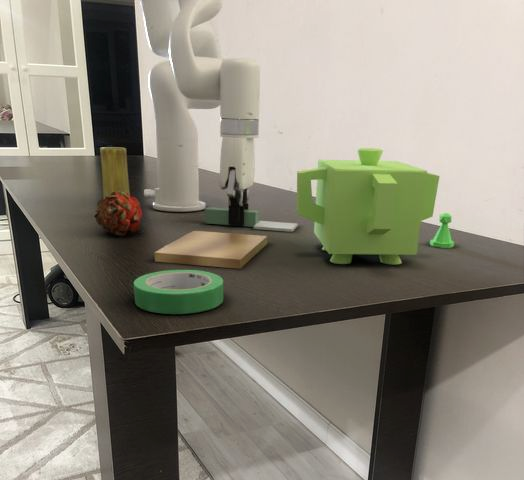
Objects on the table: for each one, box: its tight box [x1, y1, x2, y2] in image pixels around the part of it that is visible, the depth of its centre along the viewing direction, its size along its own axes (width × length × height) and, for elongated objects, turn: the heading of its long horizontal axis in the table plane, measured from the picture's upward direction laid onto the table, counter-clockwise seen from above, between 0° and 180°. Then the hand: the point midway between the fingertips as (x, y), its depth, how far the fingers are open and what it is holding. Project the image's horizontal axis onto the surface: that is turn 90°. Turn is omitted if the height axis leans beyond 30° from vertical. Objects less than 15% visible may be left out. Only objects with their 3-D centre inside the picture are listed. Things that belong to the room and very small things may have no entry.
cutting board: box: [154, 230, 268, 270], centre depth 95 cm, size 14×18×2 cm
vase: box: [99, 146, 131, 199], centre depth 120 cm, size 6×6×14 cm
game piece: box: [429, 212, 455, 249], centre depth 103 cm, size 4×4×6 cm
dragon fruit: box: [94, 191, 143, 236], centre depth 107 cm, size 8×8×12 cm
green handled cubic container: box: [296, 147, 440, 265], centre depth 92 cm, size 25×23×17 cm
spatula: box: [204, 206, 299, 233], centre depth 116 cm, size 19×6×3 cm, turn 76°
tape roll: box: [133, 269, 224, 315], centre depth 71 cm, size 11×11×3 cm
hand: (238, 222), depth 117 cm, fingers closed on spatula, 2 cm apart
